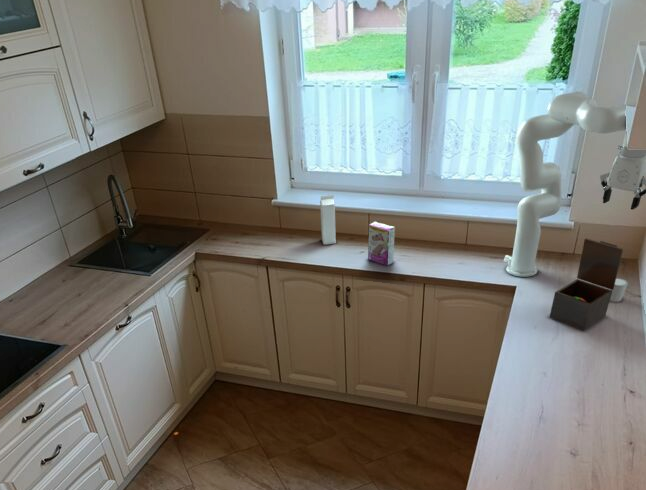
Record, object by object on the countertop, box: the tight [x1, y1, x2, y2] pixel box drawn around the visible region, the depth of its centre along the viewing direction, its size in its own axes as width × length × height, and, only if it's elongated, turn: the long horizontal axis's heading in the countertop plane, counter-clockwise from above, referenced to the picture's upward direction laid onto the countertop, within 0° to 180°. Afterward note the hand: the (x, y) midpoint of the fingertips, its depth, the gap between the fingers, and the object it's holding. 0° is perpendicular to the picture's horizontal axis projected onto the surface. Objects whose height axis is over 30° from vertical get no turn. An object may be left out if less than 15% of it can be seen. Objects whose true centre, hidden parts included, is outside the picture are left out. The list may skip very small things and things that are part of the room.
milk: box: [319, 195, 337, 245], centre depth 279 cm, size 6×6×22 cm
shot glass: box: [606, 277, 629, 303], centre depth 227 cm, size 7×7×7 cm
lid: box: [576, 238, 624, 290], centre depth 212 cm, size 16×14×5 cm
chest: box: [549, 278, 612, 332], centre depth 216 cm, size 15×14×10 cm
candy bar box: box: [367, 221, 396, 266], centre depth 260 cm, size 11×5×16 cm, turn 48°
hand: (619, 205), depth 200 cm, fingers open, 9 cm apart
